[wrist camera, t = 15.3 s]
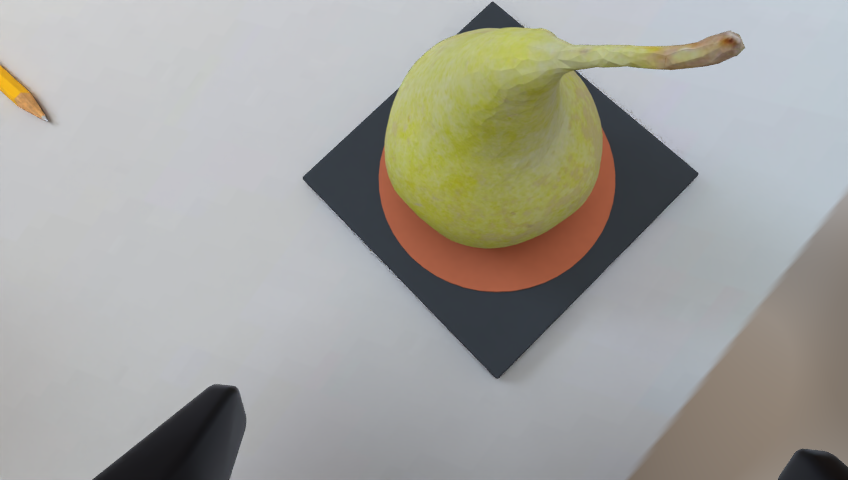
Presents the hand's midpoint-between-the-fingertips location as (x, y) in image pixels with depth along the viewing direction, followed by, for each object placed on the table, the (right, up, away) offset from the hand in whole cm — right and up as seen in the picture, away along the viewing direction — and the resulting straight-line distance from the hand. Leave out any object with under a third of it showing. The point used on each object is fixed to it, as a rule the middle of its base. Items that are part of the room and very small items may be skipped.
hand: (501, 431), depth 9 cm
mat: (+2, +6, +13) cm, 14 cm away
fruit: (+1, +5, +12) cm, 13 cm away
